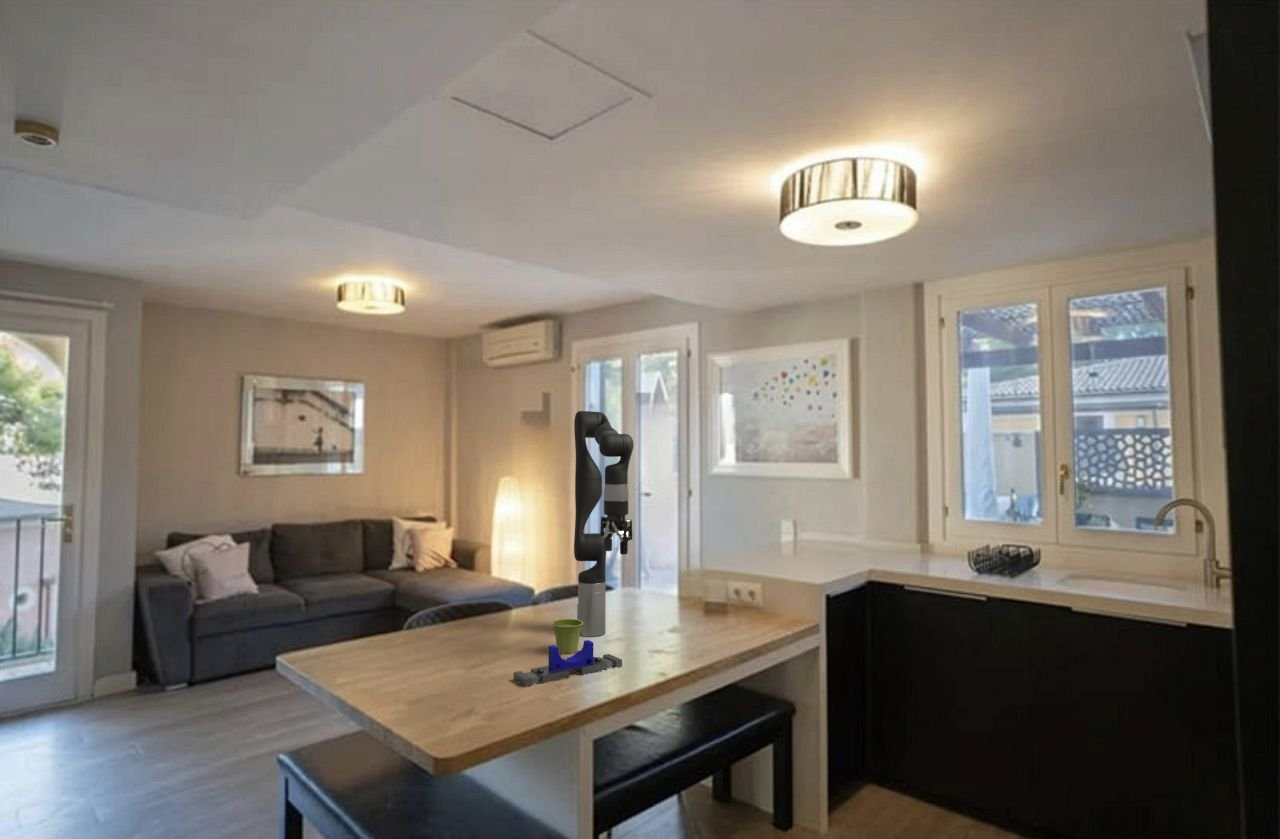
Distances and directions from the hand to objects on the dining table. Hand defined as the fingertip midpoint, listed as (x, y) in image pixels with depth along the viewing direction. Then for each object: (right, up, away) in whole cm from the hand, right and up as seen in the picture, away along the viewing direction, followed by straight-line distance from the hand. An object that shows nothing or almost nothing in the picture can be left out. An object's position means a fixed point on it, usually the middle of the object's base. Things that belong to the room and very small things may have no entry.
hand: (615, 552), depth 211 cm
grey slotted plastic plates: (-12, -29, -21) cm, 38 cm away
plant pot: (-15, -30, 0) cm, 34 cm away
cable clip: (-12, -27, -21) cm, 36 cm away
